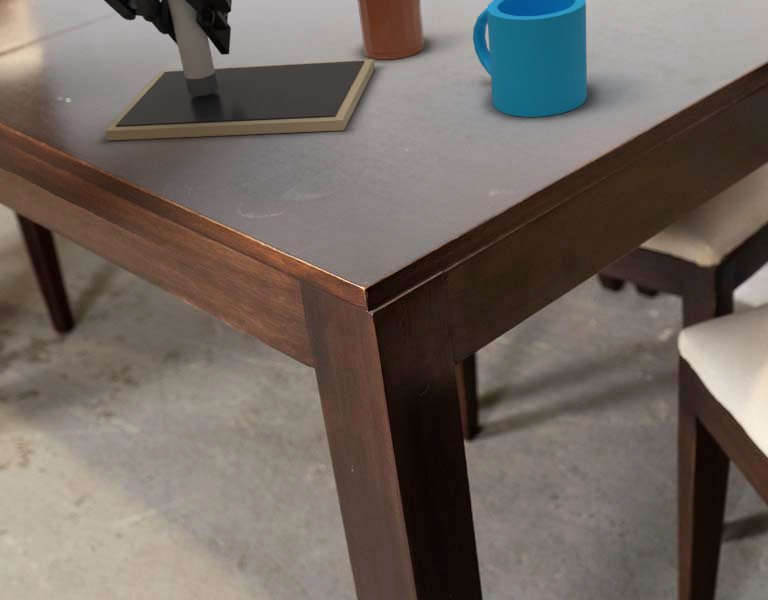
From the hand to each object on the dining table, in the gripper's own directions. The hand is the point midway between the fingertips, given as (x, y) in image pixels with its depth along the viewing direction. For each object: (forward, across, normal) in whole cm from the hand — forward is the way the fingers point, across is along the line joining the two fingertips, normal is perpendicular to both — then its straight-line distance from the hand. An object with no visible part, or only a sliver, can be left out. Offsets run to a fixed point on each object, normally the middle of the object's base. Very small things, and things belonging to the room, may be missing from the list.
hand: (208, 41), depth 105 cm
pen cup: (+10, +16, +3) cm, 19 cm away
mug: (0, +30, -7) cm, 31 cm away
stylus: (0, 0, -5) cm, 5 cm away
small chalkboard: (+1, +4, -6) cm, 7 cm away
